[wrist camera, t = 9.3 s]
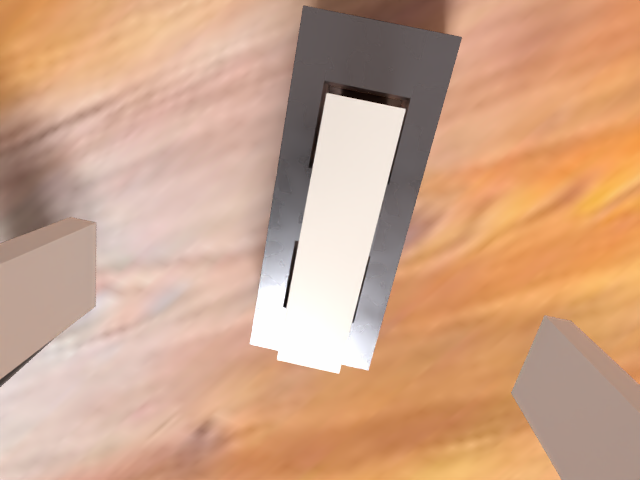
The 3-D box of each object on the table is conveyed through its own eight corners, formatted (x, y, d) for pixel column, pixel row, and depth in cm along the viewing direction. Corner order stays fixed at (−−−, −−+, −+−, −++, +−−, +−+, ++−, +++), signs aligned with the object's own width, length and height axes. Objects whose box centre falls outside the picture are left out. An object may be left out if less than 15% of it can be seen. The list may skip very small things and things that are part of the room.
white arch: (345, 282, 28) (339, 373, 18) (304, 273, 28) (276, 359, 18) (385, 110, 24) (405, 109, 14) (338, 101, 24) (326, 92, 14)
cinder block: (263, 314, 29) (249, 344, 26) (311, 23, 23) (303, 5, 19) (366, 337, 29) (368, 370, 25) (444, 49, 23) (461, 37, 19)
